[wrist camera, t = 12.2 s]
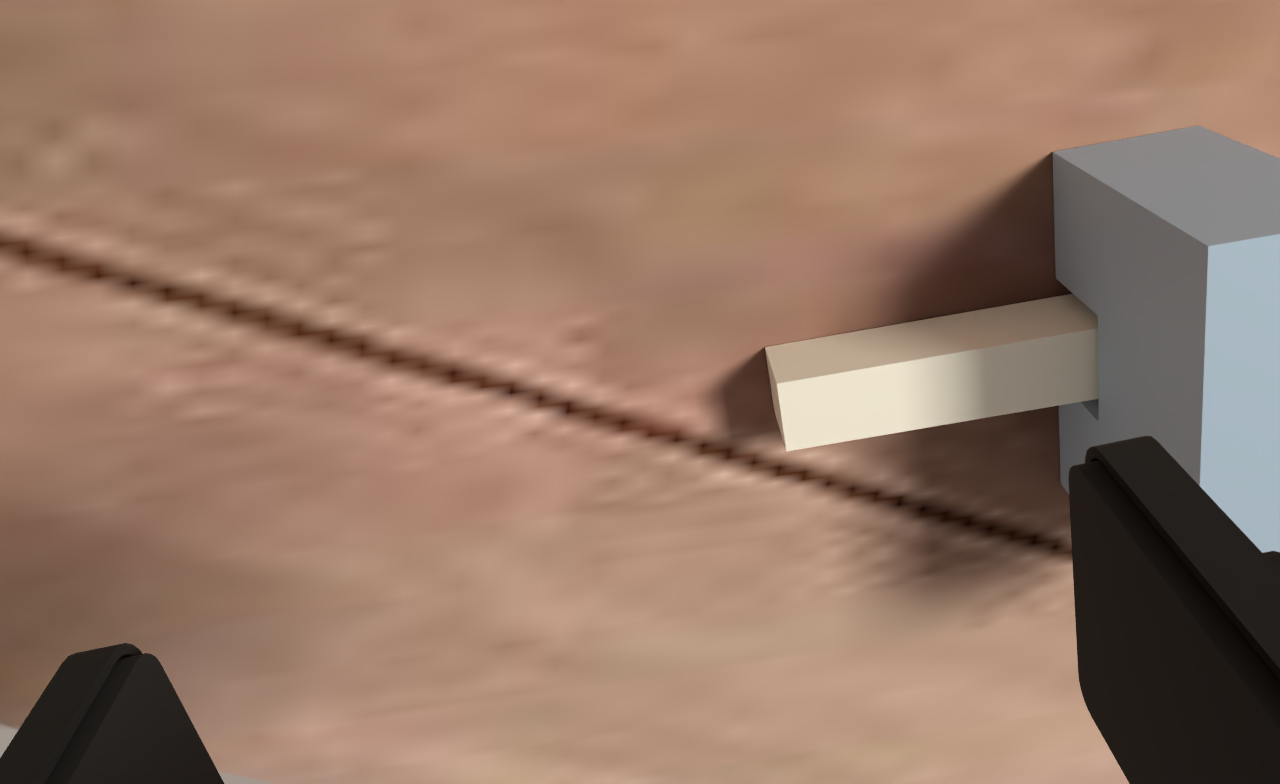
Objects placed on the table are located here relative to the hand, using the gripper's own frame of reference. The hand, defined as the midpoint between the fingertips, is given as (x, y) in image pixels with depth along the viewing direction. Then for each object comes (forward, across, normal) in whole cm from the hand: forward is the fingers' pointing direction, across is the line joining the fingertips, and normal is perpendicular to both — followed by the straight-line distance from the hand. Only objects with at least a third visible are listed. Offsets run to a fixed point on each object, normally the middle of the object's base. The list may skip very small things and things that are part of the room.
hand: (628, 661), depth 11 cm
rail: (+25, -15, +10) cm, 31 cm away
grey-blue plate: (+25, -15, +10) cm, 31 cm away
